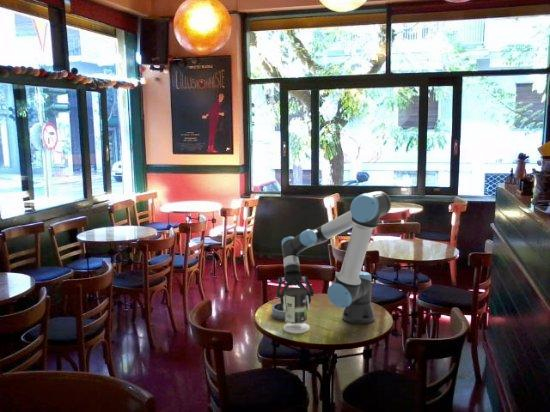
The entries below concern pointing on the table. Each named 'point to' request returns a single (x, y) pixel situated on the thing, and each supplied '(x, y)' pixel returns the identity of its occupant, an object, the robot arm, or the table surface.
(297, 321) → the coffee can
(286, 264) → the robot arm
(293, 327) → the saucer
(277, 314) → the ring collar
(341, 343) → the table surface
